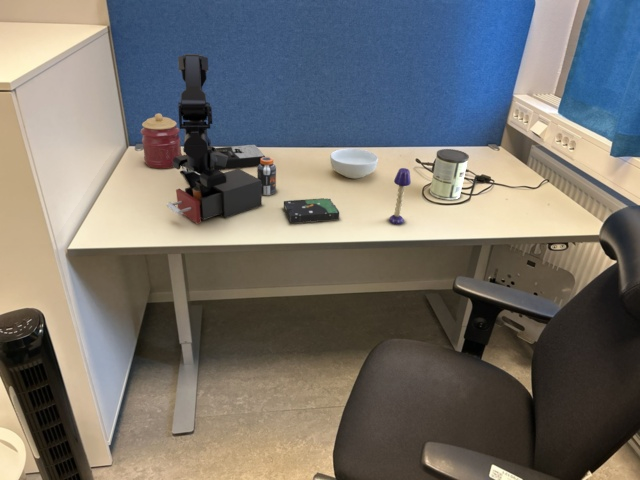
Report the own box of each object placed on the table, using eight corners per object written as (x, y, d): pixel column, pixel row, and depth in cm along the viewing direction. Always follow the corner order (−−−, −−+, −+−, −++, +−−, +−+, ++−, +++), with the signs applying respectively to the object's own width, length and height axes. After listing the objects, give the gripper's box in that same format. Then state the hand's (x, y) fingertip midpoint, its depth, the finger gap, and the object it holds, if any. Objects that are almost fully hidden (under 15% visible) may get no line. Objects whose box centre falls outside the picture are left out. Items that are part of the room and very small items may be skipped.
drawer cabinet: (224, 218, 135) (223, 191, 131) (203, 204, 142) (201, 178, 138) (261, 205, 144) (261, 180, 140) (239, 193, 151) (238, 168, 146)
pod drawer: (183, 228, 127) (180, 206, 124) (164, 214, 133) (161, 193, 130) (234, 211, 138) (233, 190, 134) (214, 199, 144) (213, 179, 140)
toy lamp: (406, 225, 138) (415, 172, 130) (392, 226, 137) (400, 173, 129) (399, 217, 142) (407, 165, 134) (385, 218, 141) (393, 166, 133)
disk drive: (290, 225, 134) (339, 220, 138) (290, 216, 133) (340, 211, 137) (282, 208, 143) (329, 204, 147) (283, 200, 142) (329, 196, 145)
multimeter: (206, 158, 175) (205, 145, 173) (255, 153, 182) (255, 141, 180) (213, 171, 165) (212, 157, 162) (266, 165, 172) (266, 152, 169)
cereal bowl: (365, 164, 179) (367, 146, 175) (383, 181, 166) (386, 162, 162) (323, 167, 174) (324, 149, 170) (338, 185, 160) (340, 165, 157)
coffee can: (433, 185, 165) (440, 146, 158) (462, 191, 162) (471, 152, 155) (426, 195, 157) (433, 155, 150) (456, 202, 154) (466, 162, 147)
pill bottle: (272, 196, 150) (273, 163, 144) (255, 194, 151) (254, 160, 145) (278, 189, 155) (278, 156, 149) (260, 186, 156) (260, 154, 150)
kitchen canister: (167, 153, 177) (161, 106, 168) (190, 162, 171) (186, 113, 162) (137, 162, 168) (130, 113, 159) (160, 172, 161) (154, 121, 152)
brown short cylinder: (204, 206, 132) (203, 192, 130) (191, 203, 133) (189, 189, 131) (211, 200, 136) (210, 186, 133) (198, 197, 136) (197, 184, 134)
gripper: (242, 149, 125) (243, 201, 133) (204, 131, 136) (207, 180, 144) (206, 157, 118) (210, 212, 126) (168, 138, 129) (174, 189, 137)
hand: (201, 198), depth 134 cm, fingers closed on brown short cylinder, 4 cm apart
